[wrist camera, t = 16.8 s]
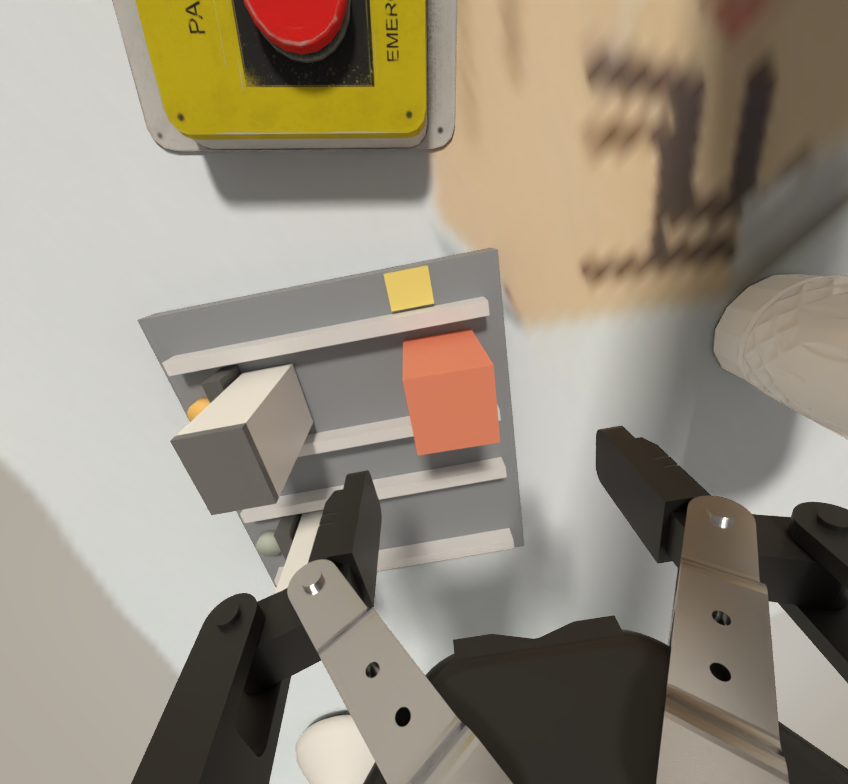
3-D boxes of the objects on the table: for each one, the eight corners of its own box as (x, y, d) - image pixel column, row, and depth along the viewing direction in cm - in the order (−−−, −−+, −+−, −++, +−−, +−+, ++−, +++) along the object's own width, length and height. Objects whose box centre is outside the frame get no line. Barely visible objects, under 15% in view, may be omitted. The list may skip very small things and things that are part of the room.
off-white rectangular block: (292, 363, 22) (241, 427, 15) (313, 422, 23) (276, 503, 17) (242, 372, 22) (170, 440, 15) (267, 430, 23) (211, 515, 17)
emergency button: (466, 133, 15) (96, 135, 15) (453, 150, 19) (160, 153, 19) (475, -224, 12) (-25, -238, 11) (457, -111, 16) (88, -117, 15)
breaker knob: (343, 506, 26) (322, 605, 20) (357, 546, 28) (343, 650, 21) (302, 513, 26) (267, 614, 20) (319, 553, 28) (292, 658, 21)
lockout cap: (477, 390, 23) (500, 442, 18) (414, 400, 23) (417, 455, 18) (471, 328, 21) (493, 364, 16) (403, 339, 22) (402, 380, 16)
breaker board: (491, 247, 21) (509, 253, 18) (518, 530, 30) (533, 571, 27) (154, 314, 22) (105, 331, 18) (281, 571, 31) (265, 616, 27)
